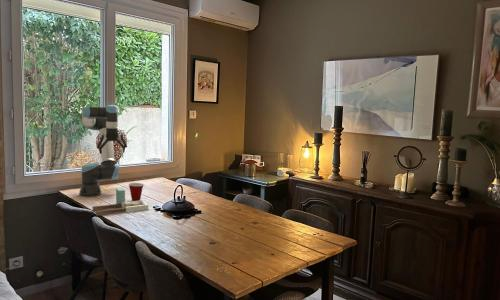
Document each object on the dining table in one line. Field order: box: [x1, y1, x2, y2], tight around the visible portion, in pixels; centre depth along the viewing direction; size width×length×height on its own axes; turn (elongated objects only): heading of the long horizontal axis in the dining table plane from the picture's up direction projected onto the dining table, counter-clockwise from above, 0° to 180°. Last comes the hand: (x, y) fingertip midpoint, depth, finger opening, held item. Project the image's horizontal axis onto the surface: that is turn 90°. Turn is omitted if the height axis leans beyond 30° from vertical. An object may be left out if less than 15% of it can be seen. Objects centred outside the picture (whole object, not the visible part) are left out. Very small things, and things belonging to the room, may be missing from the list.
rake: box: [115, 187, 126, 204], centre depth 261 cm, size 8×4×11 cm, turn 32°
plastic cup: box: [128, 182, 145, 202], centre depth 275 cm, size 11×11×12 cm
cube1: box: [124, 201, 132, 208], centre depth 253 cm, size 4×4×4 cm
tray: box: [121, 199, 149, 213], centre depth 255 cm, size 13×14×3 cm
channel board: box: [92, 203, 127, 217], centre depth 247 cm, size 13×18×2 cm
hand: (112, 157), depth 267 cm, fingers open, 13 cm apart
